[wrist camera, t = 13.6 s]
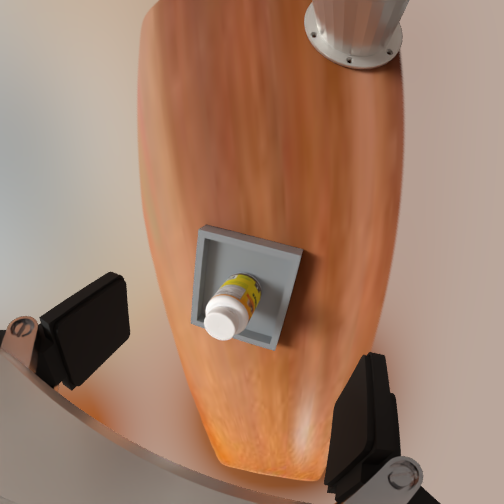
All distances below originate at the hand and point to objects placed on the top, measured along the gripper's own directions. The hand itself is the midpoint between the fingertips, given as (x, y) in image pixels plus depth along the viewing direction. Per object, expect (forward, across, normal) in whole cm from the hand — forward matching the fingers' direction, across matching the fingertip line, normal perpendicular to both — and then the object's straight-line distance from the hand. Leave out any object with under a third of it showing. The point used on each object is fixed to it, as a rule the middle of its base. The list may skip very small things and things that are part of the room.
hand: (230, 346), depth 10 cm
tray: (+28, +6, +14) cm, 32 cm away
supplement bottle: (+28, +6, +14) cm, 32 cm away
